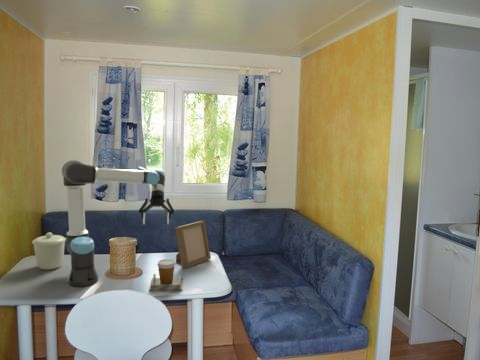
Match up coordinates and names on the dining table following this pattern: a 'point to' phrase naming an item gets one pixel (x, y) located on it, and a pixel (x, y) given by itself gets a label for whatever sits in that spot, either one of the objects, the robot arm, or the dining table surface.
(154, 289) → the rail cradle
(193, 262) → the photo frame
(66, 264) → the dining table surface
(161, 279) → the disposable coffee cup
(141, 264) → the dining table surface
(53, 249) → the canister
